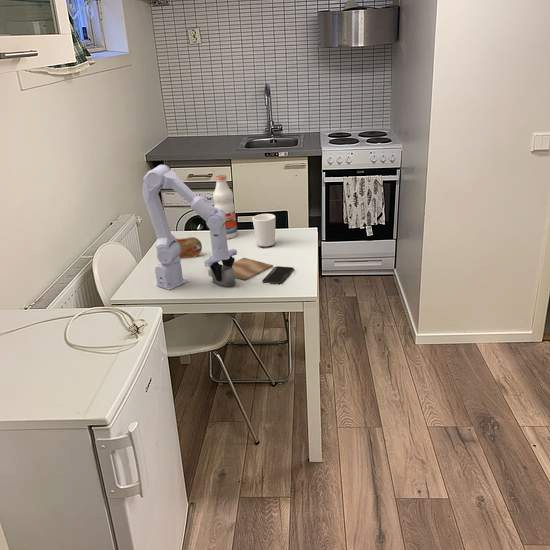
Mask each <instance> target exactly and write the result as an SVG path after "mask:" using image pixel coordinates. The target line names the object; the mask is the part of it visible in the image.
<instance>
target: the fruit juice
mask: <svg viewBox="0 0 550 550" xmlns="http://www.w3.org/2000/svg"><path fill="white" fill-rule="evenodd" d="M215 181H216V183H215V187H214V188H215V189H214V191H213V193H212V199H213V200H212V201H214V202H213V203H214V205H213V206H214V207H215V208H217V209H220V210H222V211H223V212H224V213H225V215H226V221H225V223H224V224H225V229H226V236H227V240H229V238H231V239H235V238H236V237H237V236H238V225H237V215H236V208H235V206H236V205H235V204H234V201H233V200H234V193H233V191H232V190H231V188H230V186H229V185H228V182H227V175H223V174H220V175H216V176H215ZM224 224H223V225H224Z"/></svg>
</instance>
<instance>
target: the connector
mask: <svg viewBox="0 0 550 550" xmlns="http://www.w3.org/2000/svg"><path fill="white" fill-rule="evenodd" d="M219 264H220V265H222V270H221V276H222V281H217V280H216V278H215V275H214V273H213V271H212V270H211V268H210V267H207V273H208V277H210V278H212V280H211V281H212V282H213V283H215V284H217V285H220V286H224V287H228V288H229V287H230V288H231V287H234V286H235V285H236V278H235V276H234V268H232V267H228V266H225V265H223V264H221V263H219Z"/></svg>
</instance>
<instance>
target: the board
mask: <svg viewBox="0 0 550 550" xmlns="http://www.w3.org/2000/svg"><path fill="white" fill-rule="evenodd" d="M273 267H274V264H270V263H266V262H261V261H259V260H254V259H251V258H246V257H243V258H240V259H238V260H235V261H234V263H233V266H232V268H234V276H235V279H238V280H241V281H247V280H249V279H251V278H253V277H255V276H257V275H260V274H261V273H263V272H265V271H268V270H269V269H272V268H273Z"/></svg>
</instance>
